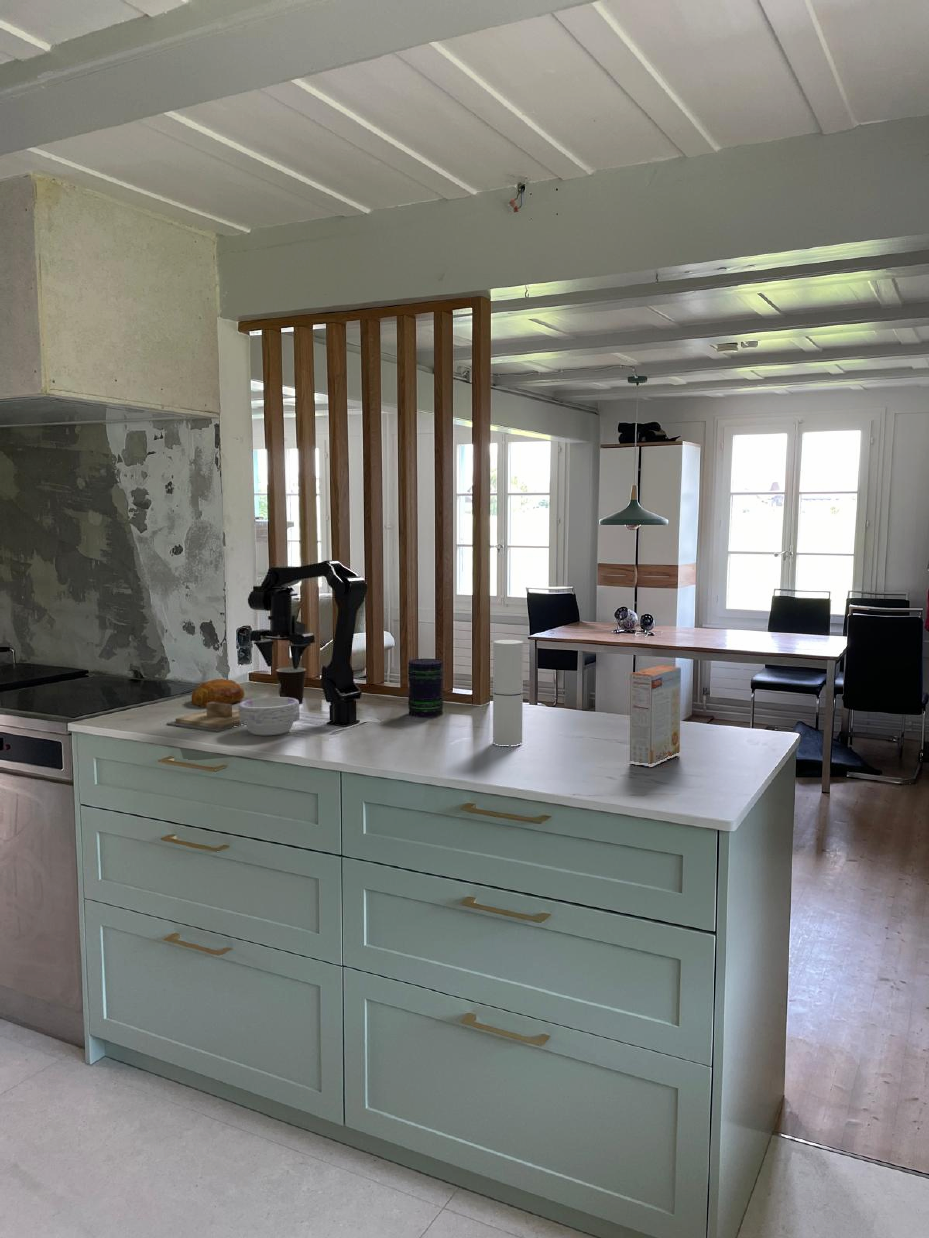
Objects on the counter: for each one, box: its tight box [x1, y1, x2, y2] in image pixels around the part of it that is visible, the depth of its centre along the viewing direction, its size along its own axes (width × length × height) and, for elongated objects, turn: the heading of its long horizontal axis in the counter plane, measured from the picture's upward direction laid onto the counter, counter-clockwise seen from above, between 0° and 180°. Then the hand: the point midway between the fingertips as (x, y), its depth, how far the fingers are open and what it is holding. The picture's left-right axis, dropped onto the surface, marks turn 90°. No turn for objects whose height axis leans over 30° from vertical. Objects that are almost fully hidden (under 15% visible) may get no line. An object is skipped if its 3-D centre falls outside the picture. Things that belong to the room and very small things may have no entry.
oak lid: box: [175, 702, 240, 729], centre depth 250 cm, size 16×16×4 cm
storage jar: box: [407, 658, 444, 719], centre depth 259 cm, size 10×10×15 cm
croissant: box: [190, 678, 245, 708], centre depth 276 cm, size 14×16×8 cm
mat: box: [165, 720, 241, 733], centre depth 250 cm, size 18×20×1 cm
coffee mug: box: [275, 667, 307, 706], centre depth 275 cm, size 12×9×10 cm
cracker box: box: [629, 664, 682, 764], centre depth 210 cm, size 14×6×21 cm, turn 141°
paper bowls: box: [238, 696, 301, 736], centre depth 237 cm, size 15×15×8 cm
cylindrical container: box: [492, 639, 524, 746], centre depth 225 cm, size 7×7×25 cm
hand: (282, 667), depth 258 cm, fingers open, 9 cm apart
